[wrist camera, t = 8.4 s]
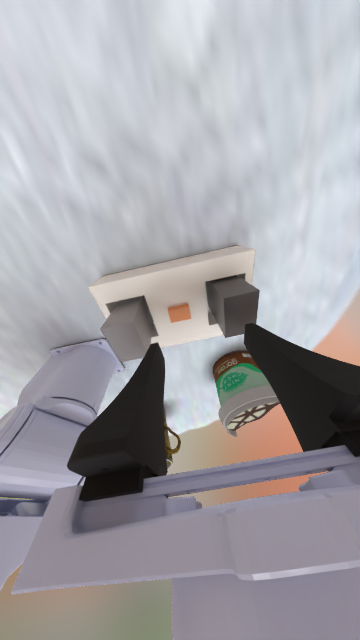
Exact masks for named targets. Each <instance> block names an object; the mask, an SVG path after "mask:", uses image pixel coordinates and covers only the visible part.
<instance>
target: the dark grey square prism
mask: <svg viewBox="0 0 360 640" xmlns="http://www.w3.org/2000/svg"><path fill="white" fill-rule="evenodd" d="M206 291H207V300H208V307H209V308H210V310H211V312H212V314H213V316H214V318H215V320H216V321H217V323H218V325H219V327H220V329H221V331H222V333H223V334H224V336H225V338H227V337H231V336H236V335H241V334H245V324H249V323H254V324H256V319H257V310H258V300H259V290H258V289H257V288H255V287H254V286H252V285H251V284H249V283H248V282H246V281H245V280H243V279H242V278H240V277H239V276H237V275H234V276H229V277H224V278H220V279H215V280H211V281H206Z"/></svg>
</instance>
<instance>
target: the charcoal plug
mask: <svg viewBox="0 0 360 640" xmlns="http://www.w3.org/2000/svg"><path fill="white" fill-rule="evenodd" d="M153 322H154V321H153V318H152V315H151V313H150V310H149V307H148V304H147V302H146V299H145V296H144V295H143V296H138V297H134V298H129V299H125V300H120V301H118V303H117V304H116V306H115V307H114V309H113V311H112V312H111V314H110V315H109V317H108V318H107V320H106V321H105V323H104V324H103V326H102V327H101V329H100V330H101V331H102V333H103V334H104V336H105V337H106V339H107V341H108V342H109V344H110V345H111V347H112V349H113V350H114V352H115V353H116V355H117V356H118V358H119V360H120V361H121V362H124V361H129V360H134V359H139V358H144V356H145V354H146V352H147V350H148V348H149V346H150V344H151V337H152V330H153Z"/></svg>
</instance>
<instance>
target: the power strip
mask: <svg viewBox="0 0 360 640" xmlns="http://www.w3.org/2000/svg"><path fill="white" fill-rule="evenodd" d="M254 256H255V249H251V248H247V247H243V246H238V245H237V246H233V247H228V248H224V249H220V250H215V251H211V252H206V253H202V254H198V255H193V256H189V257H185V258H180V259H176V260H171V261H167V262H163V263H158V264H154V265H150V266H145V267H141V268H136V269H132V270H128V271H123V272H119V273H115V274H110V275H106V276H102V277H101V278H99V279H98V280H97V281H95V282H94V283H93V284H91V285H90V286H89V287H88V289H89V290H90V292H91V294H92V296H93V297H94V299H95V301H96V302H97V304H98V306H99V308H100V309H101V311H102V313H103V315H104V316H105V318H106V320H107V318H108V317H109V315H110V314H111V312H112V311H113V309H114V307H115V306H116V304H117V303H118V301H120V300H125V299H129V298H134V297H138V296H143V295H144V296H145V299H146V302H147V304H148V307H149V310H150V313H151V315H152V318H153V321H154V322H153V330H152V337H151V344H152V343H157V342H158V343H159V346H160V348H163V347H168V346H173V345H178V344H183V343H187V342H192V341H197V340H202V339H207V338H212V337H217V336H222V335H224V334H223V333H222V331H221V329H220V327H219V325H218V323H217V321H216V320H215V318H214V316H213V314H212V312H211V310H210V308H209V307H208V300H207V291H206V281H211V280H215V279H220V278H224V277H229V276H234V275H237V276H239V277H240V278H242V279H243V280H245V281H246V282H248V283H249V284H251V285H252V280H253V268H254Z"/></svg>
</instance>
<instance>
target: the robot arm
mask: <svg viewBox="0 0 360 640" xmlns="http://www.w3.org/2000/svg"><path fill="white" fill-rule="evenodd" d="M244 344H245V346H246V348H247V350H248V352H249V354H250V355H251V357H252V358H253V360H254V361H255V363H256V364H257V366H258V367H259V369H260V370H261V371H262V373H263V374H264V376H265V377H266V379H267V380H268V382H269V384H270V385H271V387H272V389H273V391H274V392H275V394H276V396H277V398H278V400H279V402H280V404H281V406H282V407H283V409H284V411H285V413H286V415H287V417H288V419H289V421H290V423H291V425H292V428H293V430H294V432H295V434H296V436H297V438H298V441H299V443H300V445H301V447H302V450H303V452H301V453H295V454H289V455H283V456H277V457H272V458H265V459H260V460H253V461H247V462H241V463H236V464H230V465H224V466H218V467H212V468H206V469H200V470H194V471H188V472H182V473H176V474H171V475H166V474H167V460H166V446H165V430H164V405H163V400H164V382H165V360H164V357H163V354H162V351H161V349H160V346H159V343H158V342H157V343H152V344H150V346H149V348H148V350H147V352H146V354H145V356H144V358H143V359H142V361H141V363H140V365H139V366H138V368H137V370H136V371H135V373H134V374H133V376H132V377H131V379H130V380H129V382H128V383H127V384H126V386H125V387H124V388H123V390H122V391H121V392H120V393H119V394H118V396H117V397H116V398H115V399H114V400H113V402H112V403H111V404H110V405H109V406H108V407H107V408H106V409H105V410H104V411H103V412H102V413H101V414H100V415H99V416H97V413H98V411H99V408H100V405H101V403H102V400H103V397H104V394H105V392H106V389H107V386H108V384H109V381H110V378H111V376H112V374H114V373H119V372H123V371H124V370H125V368H124V366H123V365H122V363H121V362H120V360H119V359H118V357H117V355H116V354H115V352H114V351H113V349H112V348H111V346H110V344H109V343H108V341H107V340H106V339H99V340H94V341H89V342H84V343H80V344H75V345H70V346H65V347H61V348H56V349H52V350H50V351H49V353H50V354H51V355H52V357H51V358H50V359H49V360H48V362H47V363H46V364H45V365H44V366H43V367H42V368H41V369H40V371H39V372H38V373H37V374H36V375H35V376H34V377H33V378H32V379H31V381H30V382H29V383H28V384H27V385H26V386H25V388H24V389H23V390H22V392H21V394H20V396H19V400H18V406H16V407H14V408H13V409H11V410H10V411H9V412H8V413H7V414H5V415H4V416H3V417H2V418H1V419H0V497H8V498H25V499H31V500H22V499H6V498H5V499H4V498H0V591H1V589H2V587H3V585H4V583H5V581H6V579H7V578H8V577H9V576H10V575H11V573H12V572H14V571H15V570H16V569H17V568H18V567H19V566H20V565H21V564H22V563H23V562H24V563H23V565H22V567H21V570H20V572H19V574H18V577H17V579H16V581H15V584H14V586H13V588H12V594H19V593H26V592H34V591H42V590H50V589H59V588H69V587H80V586H91V585H102V584H103V585H104V584H115V583H126V582H138V581H148V580H160V579H171V586H172V587H171V589H172V590H171V592H172V593H171V595H172V640H360V366H356V365H353V364H349V363H346V362H342V361H339V360H336V359H333V358H330V357H326V356H324V355H321V354H318V353H315V352H312V351H310V350H307V349H305V348H302V347H300V346H298V345H295V344H293V343H291V342H289V341H287V340H285V339H282V338H280V337H278V336H277V335H275V334H273V333H271V332H269V331H267V330H265V329H264V328H262V327H260V326H258V325H256V324H254V323H249V324H245V334H244ZM325 471H329V472H327V473H323V474H320V475H316V476H313V477H309V480H308V481H307V482H306V483H304V484H302V485H300V486H299V490H300V491H299V492H292V493H284V494H277V495H270V496H265V497H258V498H252V499H246V500H241V501H236V502H231V503H226V504H220V505H216V506H211V507H206V508H202V504H201V502H197V501H196V499H195V497H175V498H168V497H172V496H178V495H184V494H190V493H196V492H203V491H209V490H215V489H221V488H227V487H233V486H239V485H246V484H252V483H258V482H264V481H270V480H277V479H283V478H289V477H295V476H301V475H307V474H313V473H320V472H325Z"/></svg>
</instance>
